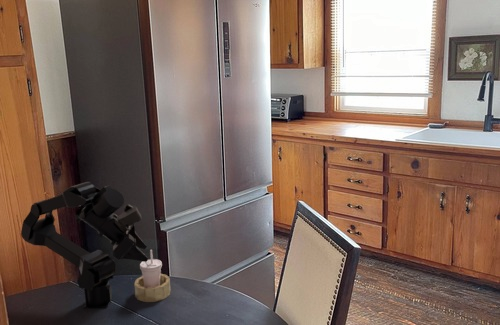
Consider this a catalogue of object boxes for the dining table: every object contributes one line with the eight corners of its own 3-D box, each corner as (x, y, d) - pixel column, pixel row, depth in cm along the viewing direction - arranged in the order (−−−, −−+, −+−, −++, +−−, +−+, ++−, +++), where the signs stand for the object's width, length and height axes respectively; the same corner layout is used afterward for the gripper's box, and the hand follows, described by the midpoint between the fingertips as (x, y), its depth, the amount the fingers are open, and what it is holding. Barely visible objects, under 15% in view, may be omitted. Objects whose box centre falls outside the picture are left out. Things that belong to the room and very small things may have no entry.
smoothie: (151, 301, 135) (148, 255, 132) (137, 295, 139) (133, 250, 136) (168, 292, 140) (165, 248, 137) (154, 286, 144) (151, 243, 141)
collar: (133, 302, 134) (132, 289, 133) (139, 286, 144) (138, 274, 143) (168, 301, 135) (167, 288, 134) (171, 284, 145) (171, 272, 144)
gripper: (122, 209, 120) (168, 244, 125) (122, 190, 138) (162, 222, 143) (93, 242, 120) (140, 276, 125) (96, 219, 138) (138, 249, 143)
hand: (146, 253), depth 134 cm, fingers open, 9 cm apart
